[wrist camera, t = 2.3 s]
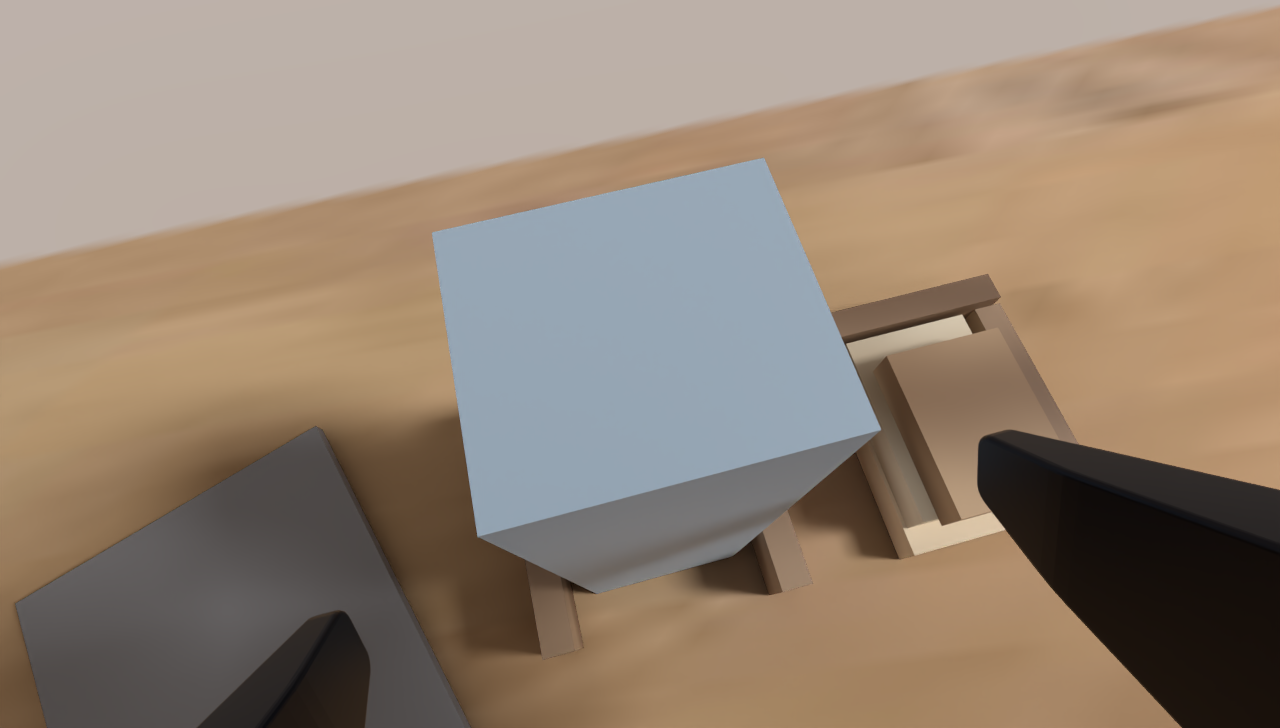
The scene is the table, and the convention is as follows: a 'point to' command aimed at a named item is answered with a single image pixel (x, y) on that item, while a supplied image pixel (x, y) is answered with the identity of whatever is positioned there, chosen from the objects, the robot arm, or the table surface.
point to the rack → (779, 538)
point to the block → (644, 375)
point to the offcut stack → (938, 427)
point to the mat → (229, 604)
